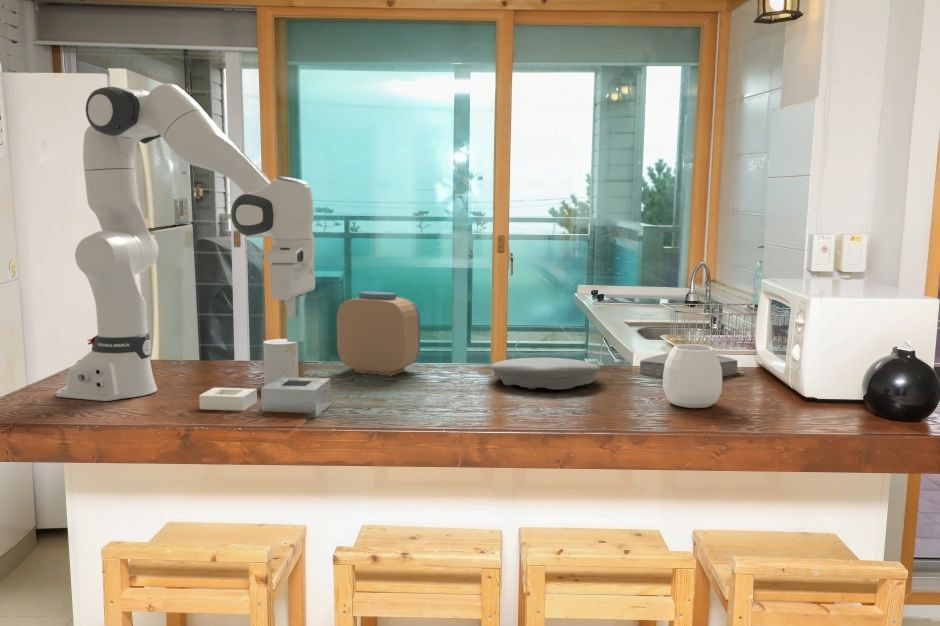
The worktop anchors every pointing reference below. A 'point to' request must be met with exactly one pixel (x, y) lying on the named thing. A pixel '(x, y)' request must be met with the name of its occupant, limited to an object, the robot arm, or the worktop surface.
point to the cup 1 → (280, 359)
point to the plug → (296, 322)
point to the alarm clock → (378, 333)
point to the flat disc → (545, 372)
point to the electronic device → (657, 363)
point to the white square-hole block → (228, 399)
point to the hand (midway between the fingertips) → (295, 315)
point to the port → (297, 395)
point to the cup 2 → (692, 376)
